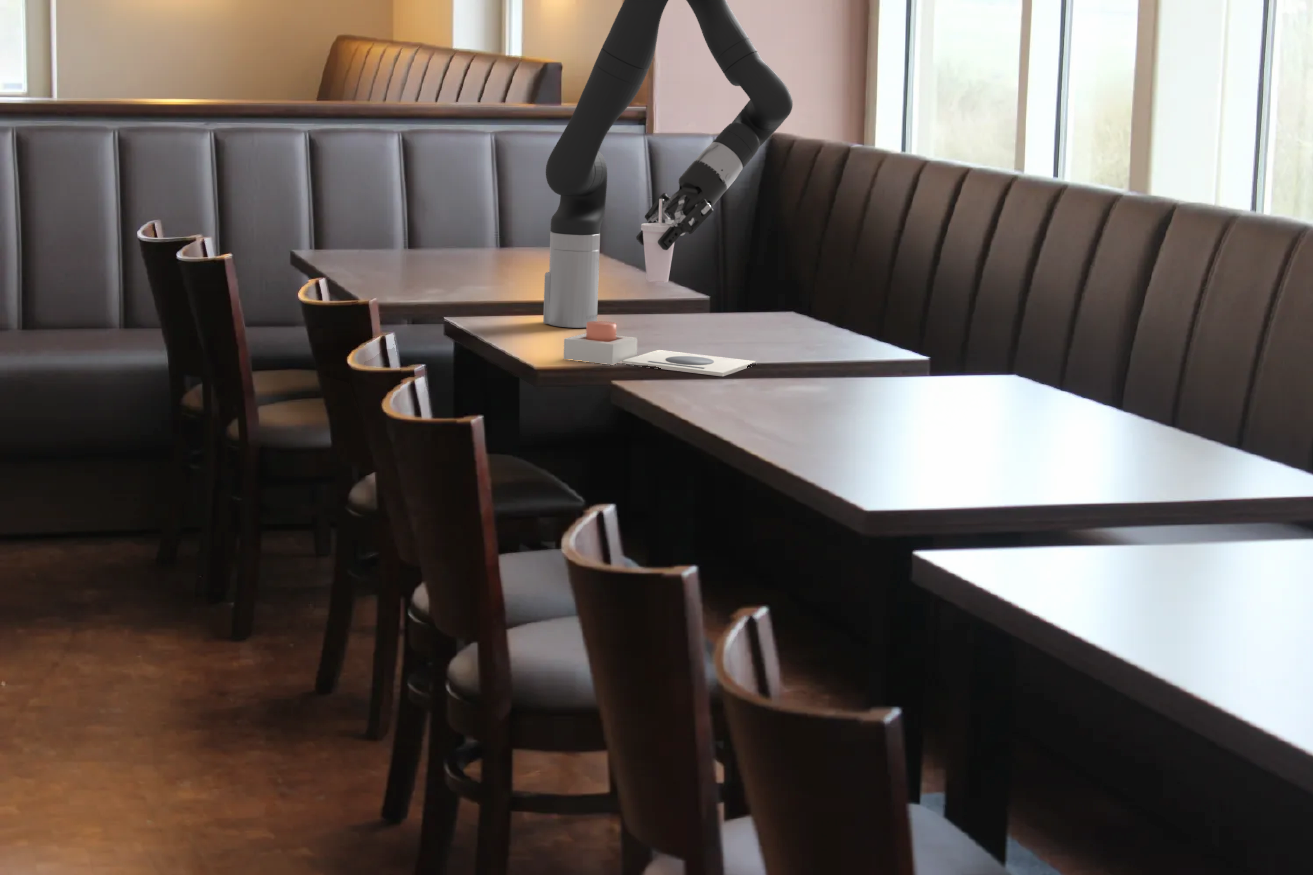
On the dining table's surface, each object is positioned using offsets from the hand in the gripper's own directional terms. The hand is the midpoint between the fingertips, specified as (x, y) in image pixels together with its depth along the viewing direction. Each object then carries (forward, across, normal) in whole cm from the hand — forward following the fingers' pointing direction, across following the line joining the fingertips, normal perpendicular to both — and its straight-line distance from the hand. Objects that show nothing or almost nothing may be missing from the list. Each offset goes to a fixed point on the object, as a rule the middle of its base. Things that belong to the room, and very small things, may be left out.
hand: (650, 244), depth 292 cm
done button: (+20, +6, +2) cm, 21 cm away
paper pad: (+14, +16, +12) cm, 24 cm away
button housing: (+22, +6, +4) cm, 23 cm away
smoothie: (+3, 0, +6) cm, 7 cm away
